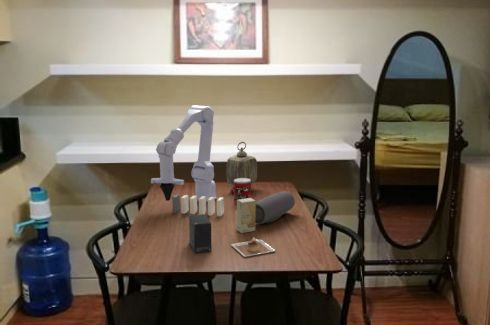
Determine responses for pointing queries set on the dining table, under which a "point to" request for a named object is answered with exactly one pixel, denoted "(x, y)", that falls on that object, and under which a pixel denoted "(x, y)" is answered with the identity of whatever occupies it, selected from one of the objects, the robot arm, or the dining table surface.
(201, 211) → the domino
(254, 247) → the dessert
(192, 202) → the domino
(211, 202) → the domino
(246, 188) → the canned food
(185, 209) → the domino
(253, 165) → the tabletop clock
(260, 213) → the bluetooth speaker
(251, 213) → the skincare box
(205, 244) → the small box
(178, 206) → the domino
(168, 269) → the dining table surface
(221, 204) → the domino
